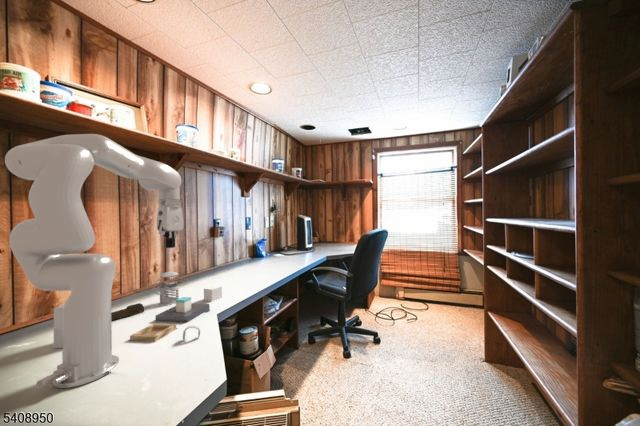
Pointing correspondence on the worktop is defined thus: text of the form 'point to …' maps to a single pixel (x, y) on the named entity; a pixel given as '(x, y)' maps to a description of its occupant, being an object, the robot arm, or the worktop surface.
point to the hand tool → (128, 311)
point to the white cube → (212, 293)
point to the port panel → (182, 313)
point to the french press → (172, 286)
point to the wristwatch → (190, 327)
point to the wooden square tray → (153, 332)
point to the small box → (58, 327)
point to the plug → (183, 304)
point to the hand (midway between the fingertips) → (170, 247)
